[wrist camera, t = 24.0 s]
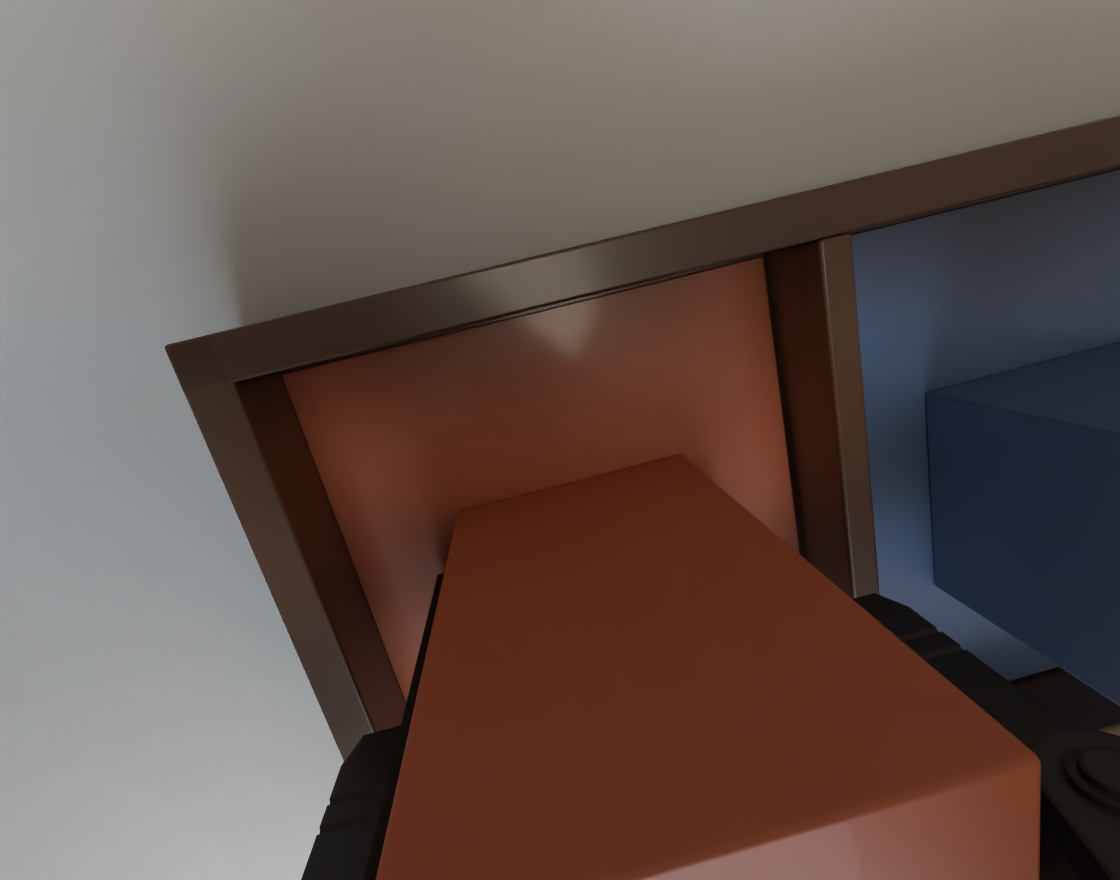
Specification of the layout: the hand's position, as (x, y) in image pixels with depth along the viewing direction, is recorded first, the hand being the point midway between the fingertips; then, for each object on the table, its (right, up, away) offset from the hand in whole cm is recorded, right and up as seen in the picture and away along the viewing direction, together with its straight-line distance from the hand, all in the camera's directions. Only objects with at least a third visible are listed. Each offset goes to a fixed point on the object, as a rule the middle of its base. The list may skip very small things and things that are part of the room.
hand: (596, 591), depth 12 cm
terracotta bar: (0, 0, 0) cm, 0 cm away
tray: (+5, +2, +1) cm, 5 cm away
